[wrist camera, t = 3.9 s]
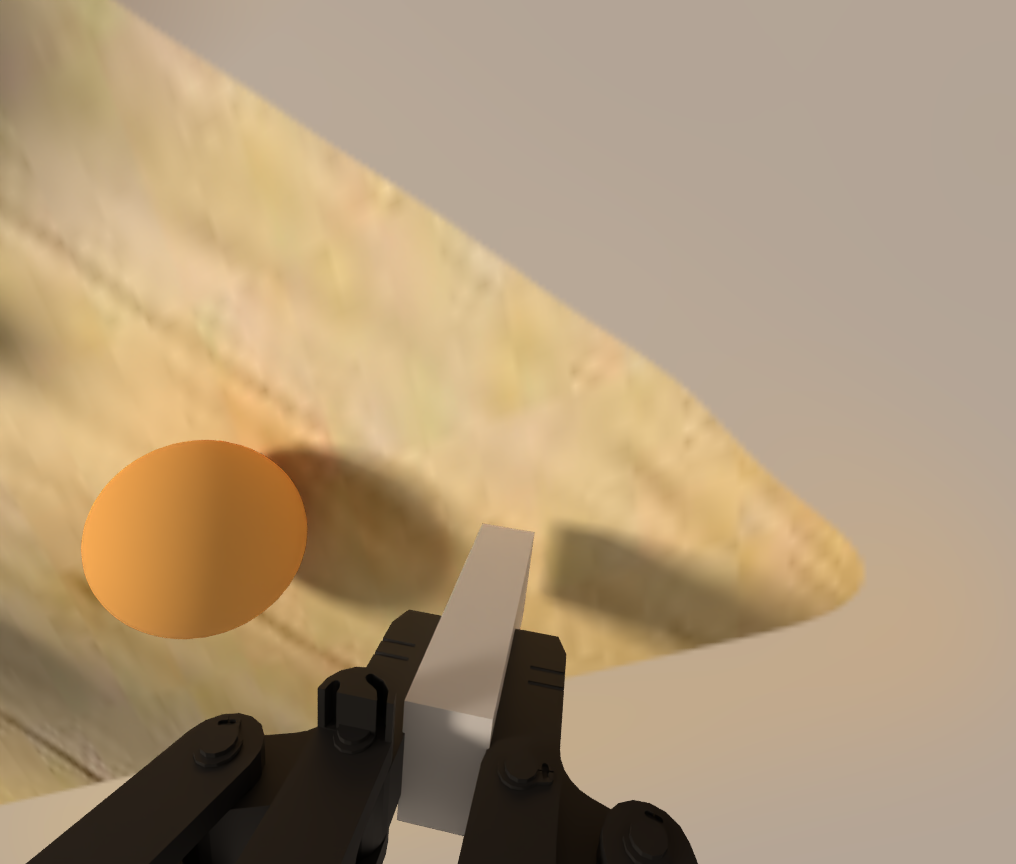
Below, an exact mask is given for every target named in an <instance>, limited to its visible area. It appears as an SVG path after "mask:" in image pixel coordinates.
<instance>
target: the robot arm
mask: <svg viewBox="0 0 1016 864" xmlns="http://www.w3.org/2000/svg"><path fill="white" fill-rule="evenodd" d="M533 539H534V532H530V531H524V530H518V529H512V528H507V527H501V526H495V525H489V524H483V523H482V525H481V528H480V530H479V532H478V534H477V537H476V539H475V541H474V543H473V546H472V548H471V550H470V553H469V555H468V557H467V559H466V562H465V564H464V566H463V569H462V571H461V573H460V575H459V578H458V580H457V582H456V584H455V587H454V589H453V591H452V594H451V596H450V598H449V600H448V603H447V605H446V607H445V609H444V612H443V614H442V616H439V615H434V614H429V613H424V612H419V611H413V610H408V611H406V612H405V613H404V614H402V615H401V616H400V617H398V618H397V619H396V620H394V621H393V622H392V624H391V625H390V627H389V629H388V630H387V632H386V634H385V636H384V637H383V641H381V643H380V644H379V646H378V648H377V650H376V652H375V655H373V657H372V658H371V660H370V662H369V664H368V665H367V667H354V668H349V669H345V670H341V671H339V672H337V673H335V674H334V675H332V676H330V677H328V678H327V679H326V680H325V681H324V682H323V683H322V684H321V685H320V686H319V687H318V727H316V728H314V729H311V730H308V731H303V732H297V733H288V734H275V735H264V733H263V729H262V725H261V724H260V723H259V722H258V721H257V720H256V719H254V718H253V717H251V716H248V715H244V714H240V713H235V714H222V715H220V716H217V717H214V718H211V719H208V720H205V721H204V722H202V723H200V724H199V725H197V726H196V727H194V728H192V729H191V730H189V731H188V732H187V733H186V734H184V735H183V736H182V737H181V738H180V739H178V740H177V741H176V742H175V743H173V744H172V745H171V746H170V747H169V748H167V749H166V750H165V751H164V752H162V753H161V754H160V755H159V756H157V757H156V758H155V759H154V760H153V761H151V762H150V763H149V764H148V765H146V766H145V767H144V768H143V769H142V770H140V771H139V772H138V773H137V774H135V775H134V776H133V777H132V778H130V779H129V780H128V781H127V782H126V783H124V784H123V785H122V786H121V787H119V788H118V789H117V790H116V791H115V792H113V793H112V794H111V795H110V796H108V797H107V798H106V799H105V800H103V801H102V802H101V803H100V804H99V805H97V806H96V807H95V808H94V809H92V810H91V811H90V812H89V813H88V814H86V815H85V816H84V817H83V818H82V819H80V820H79V821H78V822H77V823H75V824H74V825H73V826H72V827H70V828H69V829H68V830H67V831H65V832H64V833H63V834H62V835H61V836H59V837H58V838H57V839H56V840H54V841H53V842H52V843H51V844H49V845H48V846H47V847H46V848H45V849H43V850H42V851H41V852H40V853H38V854H37V855H36V856H35V857H33V858H32V859H31V860H30V861H29V862H27V863H26V864H382V863H383V860H384V858H385V855H386V849H387V844H388V834H389V826H390V823H391V820H392V818H393V815H394V812H395V809H396V807H397V804H398V813H397V814H398V815H397V820H399V821H403V822H407V823H411V824H416V825H420V826H424V827H428V828H432V829H436V830H441V831H445V832H449V833H453V834H458V835H462V836H464V839H463V843H462V848H461V852H460V856H459V861H458V864H698V863H697V860H696V858H695V855H694V852H693V850H692V848H691V845H690V843H689V841H688V839H687V837H686V836H685V834H684V832H683V831H682V829H681V827H680V826H679V825H678V824H677V823H676V822H675V821H674V820H673V819H672V818H671V817H670V816H669V815H668V814H667V813H666V812H665V811H663V810H661V809H659V808H657V807H656V806H654V805H652V804H650V803H646V802H641V801H635V800H631V801H626V802H622V803H618V804H617V805H616V806H615V807H613V808H612V809H609V808H608V807H606V806H604V805H602V804H601V803H599V802H597V801H596V800H594V799H592V798H590V797H589V796H587V795H586V794H585V793H583V792H582V791H580V790H579V789H578V787H577V786H576V785H575V784H574V783H573V782H572V781H571V780H570V778H569V777H568V775H567V774H566V772H565V770H564V767H563V764H562V762H561V757H560V739H561V724H562V711H563V695H564V691H563V690H564V681H565V666H566V653H565V650H564V648H563V646H562V644H561V642H560V640H559V637H556V636H551V635H546V634H541V633H536V632H530V631H525V630H520V627H521V622H522V617H523V612H524V604H525V597H526V590H527V583H528V576H529V568H530V561H531V554H532V547H533Z"/></svg>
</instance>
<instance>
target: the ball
mask: <svg viewBox="0 0 1016 864" xmlns="http://www.w3.org/2000/svg"><path fill="white" fill-rule="evenodd" d="M306 541H307V518H306V513H305V508H304V505H303V502H302V499H301V496H300V494H299V492H298V490H297V488H296V487H295V485H294V483H293V482H292V480H291V479H290V478H289V477H288V475H287V474H286V473H285V472H284V471H283V470H282V469H281V468H280V467H279V466H278V465H276V464H275V463H274V462H273V461H271V460H270V459H268V458H267V457H265V456H264V455H262V454H260V453H258V452H256V451H254V450H252V449H250V448H247V447H244V446H242V445H237V444H233V443H229V442H224V441H214V440H196V441H188V442H182V443H176V444H172V445H169V446H166V447H163V448H160V449H157V450H154V451H152V452H150V453H148V454H146V455H144V456H142V457H140V458H139V459H137V460H135V461H133V462H132V463H131V464H129V465H128V466H127V467H125V468H124V469H123V470H121V471H120V472H119V473H118V474H117V475H116V476H115V477H114V478H113V479H112V480H111V481H110V482H109V483H108V484H107V485H106V486H105V488H104V489H103V490H102V491H101V493H100V494H99V496H98V497H97V499H96V500H95V502H94V504H93V506H92V508H91V510H90V512H89V515H88V517H87V520H86V523H85V526H84V531H83V536H82V544H81V553H82V563H83V568H84V573H85V576H86V579H87V581H88V584H89V586H90V588H91V590H92V591H93V593H94V595H95V596H96V597H97V599H98V600H99V602H100V603H101V604H102V605H103V606H104V607H105V608H106V609H107V610H108V611H109V612H110V613H111V614H112V615H113V616H114V617H116V618H117V619H118V620H120V621H121V622H123V623H124V624H126V625H128V626H130V627H132V628H134V629H136V630H139V631H141V632H144V633H147V634H150V635H154V636H158V637H164V638H173V639H192V638H203V637H208V636H213V635H216V634H220V633H224V632H227V631H229V630H232V629H234V628H237V627H239V626H241V625H243V624H245V623H247V622H249V621H250V620H252V619H253V618H255V617H257V616H258V615H260V614H261V613H263V612H264V611H265V610H266V609H267V608H268V607H270V606H271V605H272V604H273V603H274V602H275V601H276V600H277V599H278V598H279V597H280V596H281V595H282V593H283V592H284V591H285V590H286V588H287V587H288V586H289V585H290V583H291V581H292V580H293V578H294V576H295V574H296V573H297V571H298V569H299V566H300V564H301V561H302V558H303V555H304V552H305V547H306Z"/></svg>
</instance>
